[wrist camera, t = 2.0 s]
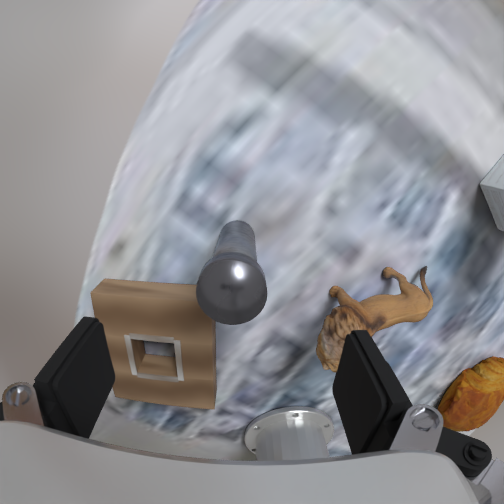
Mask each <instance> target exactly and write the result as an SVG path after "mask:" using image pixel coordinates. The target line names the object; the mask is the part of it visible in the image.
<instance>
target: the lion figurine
mask: <svg viewBox="0 0 504 504" xmlns="http://www.w3.org/2000/svg"><path fill="white" fill-rule="evenodd" d="M426 270H427V266H425V267H423V268H422V269H421V271H420V281H421V285H422V289H423V291H424V292H423V291H422V290H421V289H419V288H418V286H416V285H414V284H410V283H409V282H407V280H406V277H405V276H403V275H401V274H400V273H398V272H396V271H395V270H394V269H392V268H390V267H386V268H385V269H384V270H383V276H384V277H385V278H395V279H397V280H398V281H399V287H400V290H401V294H400V295H386V294H381V295H375V296H372V297H369V298H367V299H365V300H363V301H361V302H358V301H356V300H354V299H352V298H351V297H350V296H349V295H348V294H347V293H346V292H345V291H344V290H343V289H342V288H340V287H338V286H333V287H332V288H331V289H330V294H331V297H336V298H338V301H339V304H340V306H338V307H336V308H333V310H332V312H331V314H330V315H327V316H326V319H325V320H324V325H323V328H322V331H321V333H320V334H319V336H318V340H317V342H318V344H317V348H316V352H317V356H318V358H319V359H320V361H321V363H322V365H323V369H325V370H328V369H331V370H332V371H333V372H337V369H338V365H339V361H340V358H341V354H342V350H343V346H344V342H345V338H346V335H347V334H350V333H351V331H352V330H367V331H368V332H369V334H370V336H371V337H372V336H373V335H374V333H375V332H377V331H379V330H382V329H385V328H388V327H390V326H392V325H395V324H398V323H402V322H418V321H421V320H422V319H424V318H425V317H426V316H427V314H428V312H429V311H430V310H431V308H432V306H433V298H432V296H431V294H430V292H429V290H428V288H427V286H426V283H425V274H426Z"/></svg>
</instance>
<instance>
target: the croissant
mask: <svg viewBox="0 0 504 504" xmlns="http://www.w3.org/2000/svg"><path fill="white" fill-rule="evenodd" d="M503 400H504V358H501V357H500V358H497V357H493V356H492V357H491V358H487V359H486V360H482V362H481V363H480V364H476V365H475V366H474V367H473V368H468V369H466V370H464V371H462V373H461V374H460V375H459V376H458V377H457V379H456V380H455V381H454V382H453V383H452V384H451V386H450V387H449V388H448V390H447V391H446V393H445V394H444V396H443V398H442V400H441V402H440V404H439V406H438V409H437V410H438V411H439V412H440V414H441V415H442V417H443V426H444V427H446V428H448V429H452V430H453V431H459V432H460V431H470V430H473V429H475V428H479V427H480V426H482V425H483V424H485V423H486V422H487V421H488V420H489V419H490V418H491V417H492V416H493V415H494V413H495V412H496V411H497V409H498V408H499V406H500V405H501V403H502V402H503Z"/></svg>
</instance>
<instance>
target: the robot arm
mask: <svg viewBox="0 0 504 504" xmlns="http://www.w3.org/2000/svg"><path fill="white" fill-rule="evenodd" d="M34 380H35V383H34V385H33V386H32V385H31V384H29V383H27V382H17V383H14V384H11V385H10V386H8V387H7V389H5V391H4V393H3V395H2V402H1V403H0V504H504V463H503V462H502V461H501V460H499V459H498V458H496V459H495V460H493V459H492V454H491V450H490V448H489V447H488V446H487V445H486V444H485V443H484V442H482V441H480V440H478V439H475V438H472V437H469V436H467V435H464V434H461V433H459V432H456V431H453V430H451V429H448V428H446V427H443V417H442V415H441V414H440V412H439V411H438V410H437V409H435V408H434V407H432V406H429V405H425V404H418V405H414V406H413V405H412V403H411V402H410V400H409V398H408V396H407V394H406V393H405V391H404V389H403V387H402V386H401V384H400V382H399V381H398V379H397V377H396V375H395V374H394V372H393V370H392V368H391V367H390V365H389V364H388V362H386V361H385V359H384V357H383V356H382V354H381V352H380V351H379V349H378V347H377V346H376V344H375V342H374V341H373V339H372V337H371V336H370V334H369V332H368V331H367V330H352V331H351V333H350V334H347V335H346V338H345V342H344V346H343V350H342V354H341V358H340V361H339V365H338V369H337V372H336V376H335V379H334V383H333V395H334V398H335V401H336V404H337V407H338V410H339V414H340V417H341V420H342V423H343V426H344V429H345V433H346V436H347V439H348V442H349V446H350V449H351V452H352V455H345V456H336V457H329V453H328V449H327V444H328V443H329V442H330V440H331V439H332V437H333V434H334V426H333V422H332V420H331V418H330V417H329V416H328V415H327V414H326V413H325V412H323V411H320V410H318V409H315V408H311V407H303V406H293V407H284V408H280V409H275V410H272V411H270V412H267V413H265V414H263V415H261V416H259V417H257V418H256V419H255V420H253V421H252V422H251V423H250V424H249V425H248V427H247V429H246V431H245V444H246V447H247V448H248V449H249V450H250V451H251V452H252V453H253V454H255V455H256V457H257V461H237V460H216V459H202V458H191V457H182V456H174V455H166V454H160V453H153V452H147V451H141V450H136V449H130V448H125V447H121V446H116V445H112V444H107V443H103V442H99V441H95V440H91V439H89V437H90V435H91V432H92V430H93V428H94V426H95V423H96V421H97V419H98V417H99V414H100V412H101V410H102V408H103V406H104V404H105V401H106V399H107V397H108V395H109V393H110V391H111V389H112V387H113V384H114V382H115V372H114V368H113V364H112V361H111V357H110V353H109V349H108V344H107V340H106V336H105V331H104V327H103V324H102V323H101V322H99V320H98V319H97V318H92V317H83V318H82V319H81V320H80V322H79V323H78V324H77V325H76V326H75V328H74V329H73V330H72V331H71V333H70V334H69V335H68V336H67V337H66V339H65V340H64V341H63V343H62V344H61V345H60V346H59V348H58V349H57V350H56V351H55V353H54V354H53V355H52V357H51V358H50V359H49V361H48V362H47V363H46V364H45V366H44V367H43V368H42V370H41V371H40V372H39V374H38V375H37V376H36V378H35V379H34Z"/></svg>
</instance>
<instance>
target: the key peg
mask: <svg viewBox="0 0 504 504" xmlns="http://www.w3.org/2000/svg"><path fill="white" fill-rule="evenodd" d="M196 298H197V301H198V304H199V306H200V308H201V309H202V310H203V312H204V313H205V314H206V315H207V316H208V317H210V318H211V319H213V320H215V321H217V322H220V323H223V324H229V325H236V324H242V323H245V322H248V321H250V320H252V319H253V318H255V317H256V316H257V315H258V314H259V313H260V312H261V311H262V309H263V308H264V306H265V303H266V300H267V287H266V280H265V275H264V272H263V270H262V268H261V267H260V265H259V264H258V263H257V256H256V245H255V235H254V231H253V229H252V228H251V226H250V225H249V224H247V223H245V222H243V221H238V220H237V221H231V222H229V223H227V224H226V225H225V226H224V227H223V229H222V231H221V233H220V236H219V240H218V243H217V246H216V249H215V252H214V255H213V258H211V259H210V260H209V261H208V262H207V263H206V264H205V266H204V267H203V269H202V271H201V274H200V277H199V280H198V282H197V286H196Z"/></svg>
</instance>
